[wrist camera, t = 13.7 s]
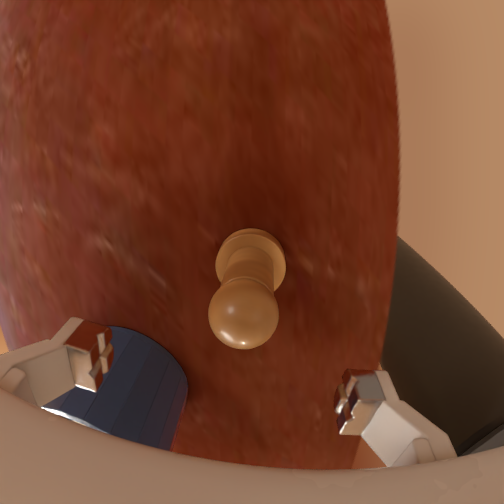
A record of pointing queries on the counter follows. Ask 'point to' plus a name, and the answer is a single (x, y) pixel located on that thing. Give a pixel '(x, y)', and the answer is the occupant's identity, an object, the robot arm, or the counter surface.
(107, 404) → the cup
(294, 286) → the counter surface
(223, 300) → the maple pawn
